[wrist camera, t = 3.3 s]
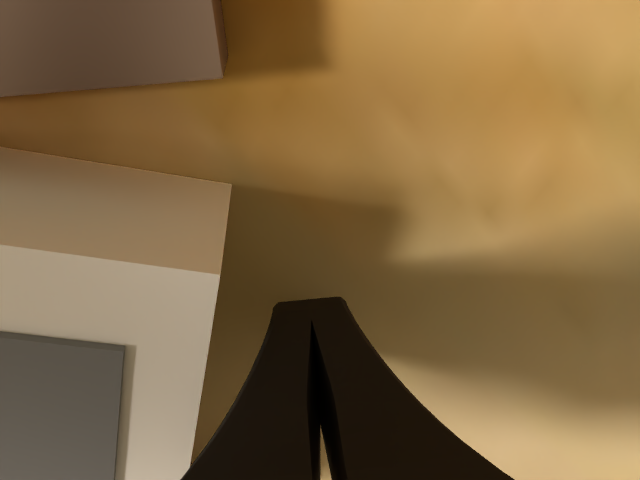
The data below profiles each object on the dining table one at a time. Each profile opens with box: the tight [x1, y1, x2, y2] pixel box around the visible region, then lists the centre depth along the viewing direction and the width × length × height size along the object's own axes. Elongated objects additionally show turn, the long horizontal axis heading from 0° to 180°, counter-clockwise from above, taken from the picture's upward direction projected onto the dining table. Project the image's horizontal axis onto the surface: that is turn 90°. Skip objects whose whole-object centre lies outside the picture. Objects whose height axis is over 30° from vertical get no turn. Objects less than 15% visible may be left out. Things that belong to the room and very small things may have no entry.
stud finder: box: [0, 147, 232, 480], centre depth 12 cm, size 6×8×4 cm
